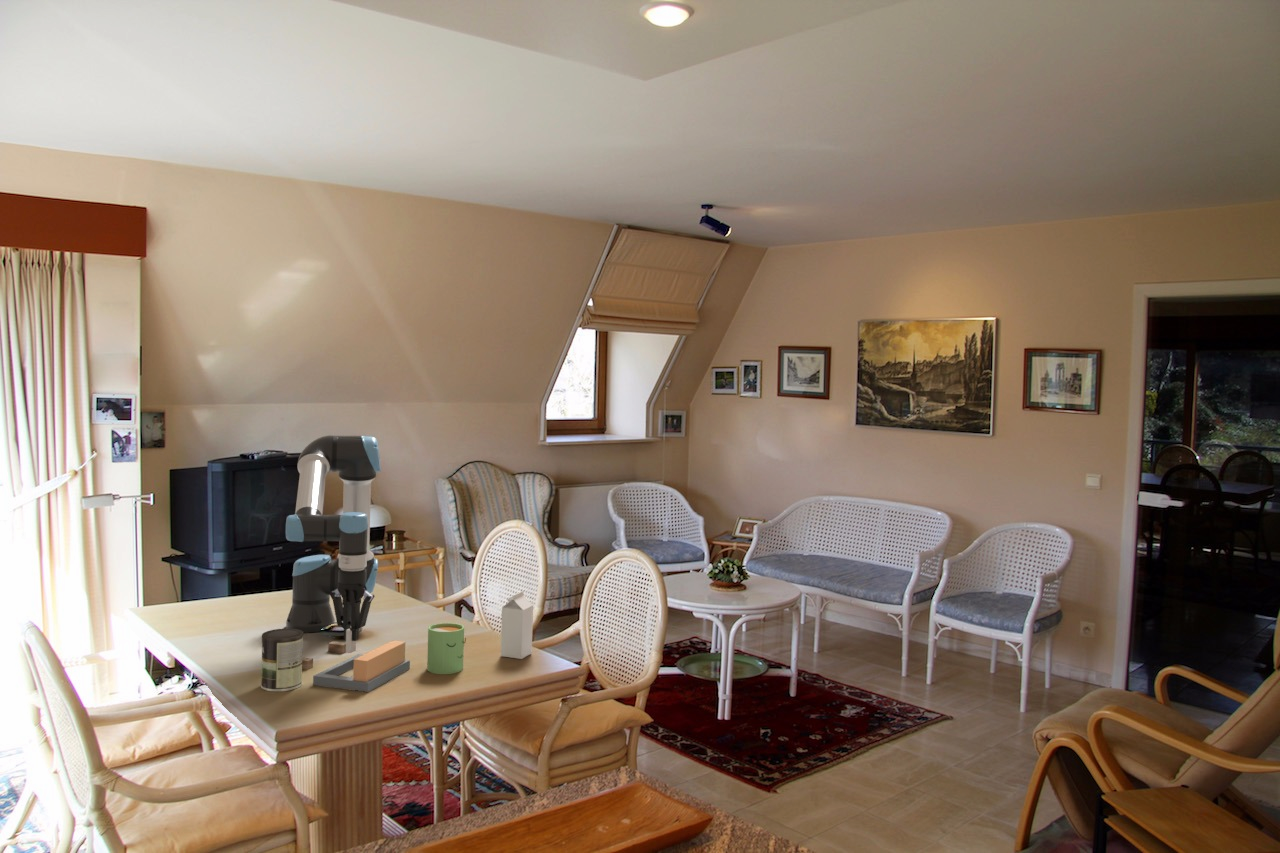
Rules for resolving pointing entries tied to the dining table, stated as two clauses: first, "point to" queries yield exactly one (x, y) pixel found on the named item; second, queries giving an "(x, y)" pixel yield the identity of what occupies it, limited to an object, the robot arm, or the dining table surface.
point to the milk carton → (517, 627)
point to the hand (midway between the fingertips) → (350, 651)
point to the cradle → (332, 647)
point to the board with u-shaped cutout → (333, 680)
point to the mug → (445, 648)
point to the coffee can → (281, 660)
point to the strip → (378, 661)
